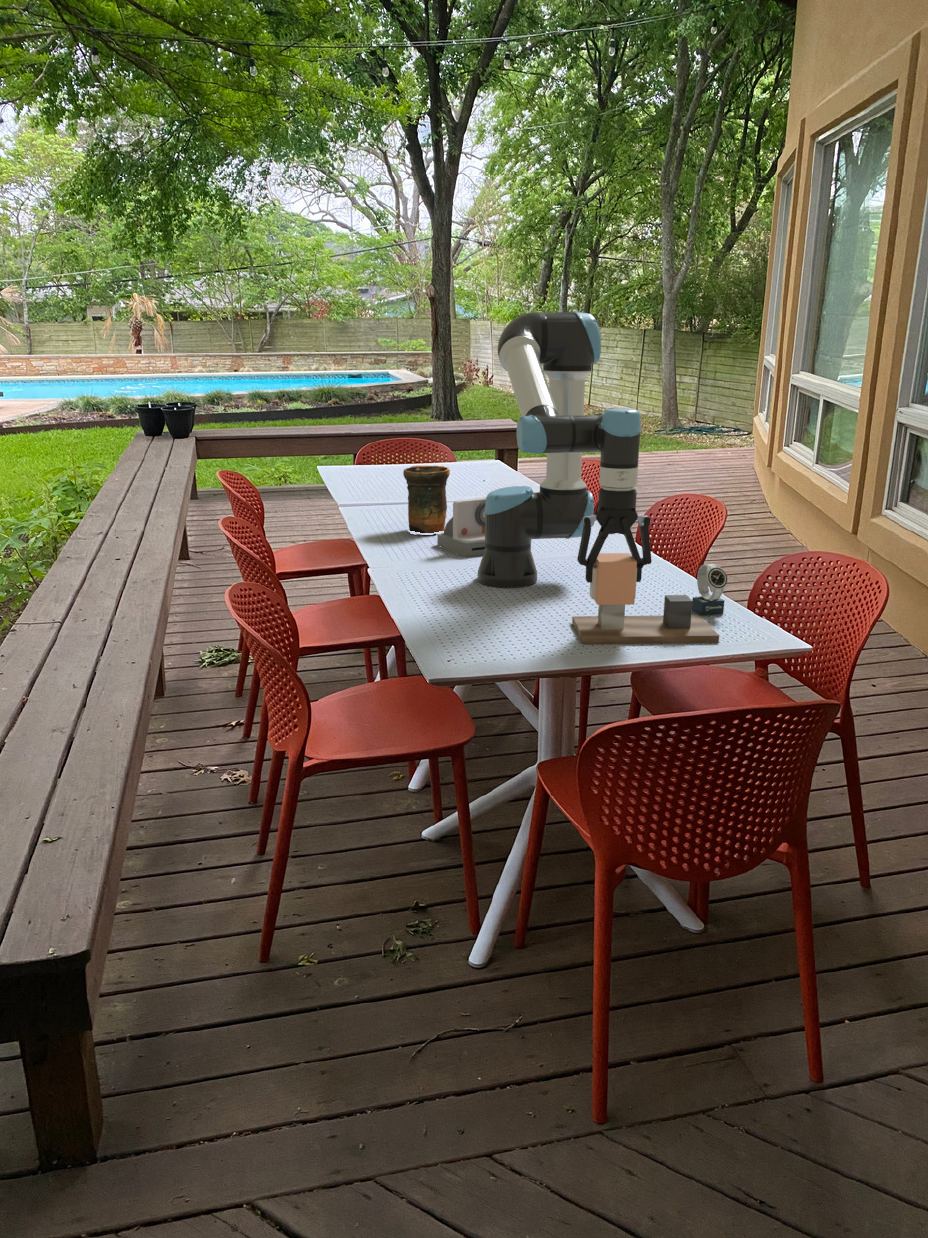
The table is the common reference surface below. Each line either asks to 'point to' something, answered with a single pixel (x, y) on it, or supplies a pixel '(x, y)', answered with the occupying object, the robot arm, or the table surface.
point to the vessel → (426, 497)
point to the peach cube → (615, 579)
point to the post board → (645, 625)
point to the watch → (716, 582)
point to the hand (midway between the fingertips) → (612, 596)
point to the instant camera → (465, 528)
